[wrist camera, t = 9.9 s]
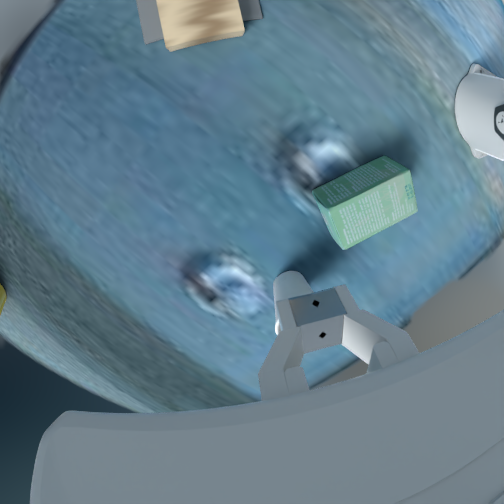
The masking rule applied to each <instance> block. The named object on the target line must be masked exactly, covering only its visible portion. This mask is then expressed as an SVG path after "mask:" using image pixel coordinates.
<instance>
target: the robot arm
mask: <svg viewBox="0 0 504 504" xmlns="http://www.w3.org/2000/svg"><path fill="white" fill-rule="evenodd" d="M455 115H456V121H457V125H458V128H459V131H460V133H461V135H462V137H463V138H464V139H465V141H466V142H467V143H468V144H469V145H470V147H471V151H472V153H473V155H474V157H476V158H482V157H484V156H487V155H490V156H492V157H495V158H497V159H500V160H502V161H504V79H503V78H499V77H497V76H496V75H494V74H493V73H491V72H489V71H488V70H486V69H485V68H483V67H482V66H480V65H478V64H475V63H473V64H472V65H471V67H470V70H469V73H468V75H467V76H466V77H465V78H463V80H462V81H461V82H460V84H459V87H458V89H457V93H456V98H455ZM276 307H277V313H278V318H279V324H280V329H281V331H279V333H278V335H277V337H276V339H275V341H274V343H273V345H272V347H271V349H270V351H269V353H268V355H267V357H266V359H265V361H264V363H263V365H262V367H261V369H260V371H259V373H258V377H259V384H260V391H261V397H262V401H259V402H253V403H247V404H241V405H235V406H228V407H220V408H212V409H203V410H192V411H180V412H163V413H97V412H82V411H66V412H64V413H63V414H62V415H60V416H59V417H58V418H57V419H56V420H55V421H54V422H53V424H52V425H51V426H50V427H49V428H48V429H47V430H46V431H45V433H44V434H43V437H42V439H41V442H40V445H39V449H38V452H37V457H36V461H35V466H34V472H33V478H32V485H31V496H30V504H504V310H502V311H501V312H499V313H497V314H496V315H494V316H492V317H491V318H489V319H487V320H486V321H484V322H482V323H480V324H479V325H477V326H475V327H473V328H471V329H469V330H467V331H466V332H464V333H462V334H460V335H458V336H456V337H454V338H452V339H450V340H448V341H446V342H444V343H442V344H440V345H437V346H435V347H433V348H431V349H429V350H426V351H424V352H422V353H419V352H418V350H417V348H416V347H415V345H414V344H413V341H412V340H411V338H410V336H409V335H408V333H407V332H406V331H404V330H402V329H400V328H398V327H396V326H394V325H392V324H390V323H388V322H387V321H385V320H383V319H381V318H379V317H377V316H375V315H373V314H371V313H369V312H367V311H365V310H360V309H359V308H358V306H357V304H356V302H355V300H354V299H353V297H352V295H351V293H350V292H349V290H348V288H347V286H346V285H341V286H337V287H333V288H330V289H326V290H322V291H318V292H314V293H311V294H306V295H301V296H297V297H292V298H288V299H283V300H278V301H276ZM338 344H342V345H343V346H345V347H346V348H347V349H349V350H350V351H351V352H353V353H354V354H355V355H357V356H358V357H359V358H361V359H362V360H363V361H365V362H366V363H367V364H369V366H368V369H367V373H366V374H364V375H361V376H358V377H355V378H352V379H349V380H346V381H342V382H339V383H336V384H333V385H329V386H325V387H321V388H318V389H314V390H310V391H309V387H308V384H307V381H306V377H305V374H304V370H303V368H302V367H300V364H301V361H302V358H303V355H304V354H305V353H308V352H312V351H315V350H319V349H322V348H326V347H330V346H334V345H338Z"/></svg>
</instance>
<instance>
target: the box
mask: <svg viewBox="0 0 504 504" xmlns="http://www.w3.org/2000/svg"><path fill="white" fill-rule="evenodd" d="M312 193H313V196H314V198H315V200H316V202H317V205H318V207H319V209H320V211H321V214H322V216H323V218H324V221H325V223H326V225H327V228H328V230H329V232H330V234H331V236H332V237H333V239H334V240H335V241H336V243H337V244H338V245H339V246H340V247H341V248H342V249H343V250H345V249H348V248H350V247H352V246H354V245H356V244H358V243H359V242H361V241H363V240H365V239H367V238H369V237H371V236H373V235H375V234H376V233H378V232H380V231H382V230H384V229H386V228H388V227H390V226H392V225H394V224H395V223H397V222H399V221H401V220H403V219H405V218H407V217H409V216H411V215H412V214H414V213H416V212H417V211H418V210H417V204H416V198H415V192H414V187H413V181H412V176H411V172H410V170H409V169H407V168H406V167H404V166H403V165H401V164H399V163H398V162H396V161H394V160H392V159H391V158H389V157H387V156H386V155H384V156H382V157H380V158H377V159H375V160H373V161H371V162H369V163H366V164H364V165H362V166H360V167H358V168H356V169H354V170H352V171H350V172H348V173H346V174H344V175H342V176H340V177H338V178H336V179H334V180H332V181H330V182H328V183H326V184H324V185H322V186H320V187H318V188H316V189H314V190H312Z"/></svg>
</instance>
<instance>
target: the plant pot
mask: <svg viewBox="0 0 504 504" xmlns="http://www.w3.org/2000/svg"><path fill="white" fill-rule="evenodd" d="M5 301H6V292H5V290H4V288H3V286H2V285H1V284H0V315H1V312H2V309H3V306H4V304H5Z"/></svg>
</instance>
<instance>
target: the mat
mask: <svg viewBox="0 0 504 504" xmlns="http://www.w3.org/2000/svg"><path fill="white" fill-rule="evenodd" d="M136 1H137V7H138V12H139V17H140V22H141V27H142V32H143V37H144V42H145V44H149V43H152V42H155V41H158V40H161V39H164V36H163V31H162V27H161V22H160V17H159V12H158V7H157V2H156V0H136ZM238 3H239V7H240V11H241V16H242V20H243V21H248V20H256V19H262V18H263V17H262V13H261V9H260V4H259V0H238Z"/></svg>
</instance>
